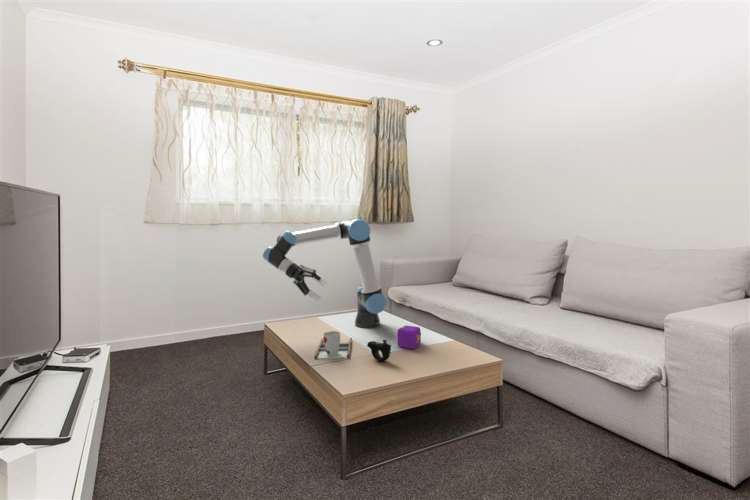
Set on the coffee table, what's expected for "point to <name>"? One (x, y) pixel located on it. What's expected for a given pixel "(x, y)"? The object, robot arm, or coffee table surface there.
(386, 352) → the controller
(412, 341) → the toy camera
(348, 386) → the coffee table surface
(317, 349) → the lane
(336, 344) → the cup
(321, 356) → the pad
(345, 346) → the tray
